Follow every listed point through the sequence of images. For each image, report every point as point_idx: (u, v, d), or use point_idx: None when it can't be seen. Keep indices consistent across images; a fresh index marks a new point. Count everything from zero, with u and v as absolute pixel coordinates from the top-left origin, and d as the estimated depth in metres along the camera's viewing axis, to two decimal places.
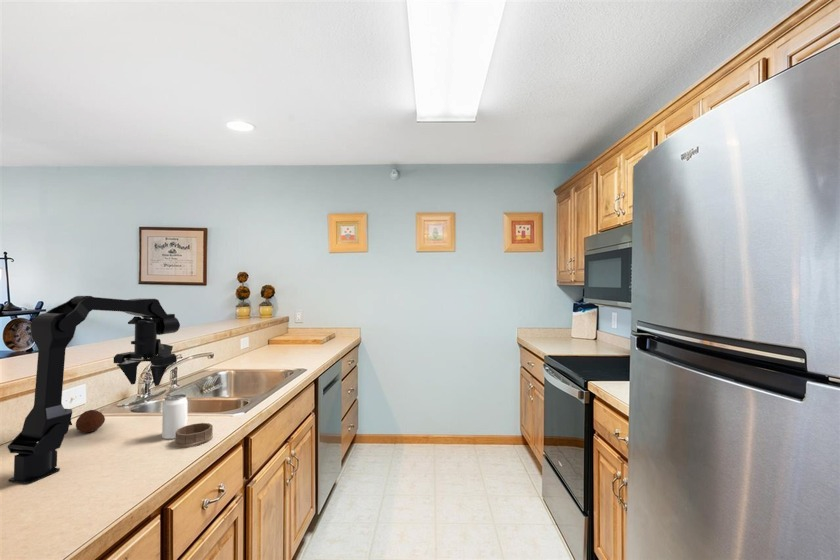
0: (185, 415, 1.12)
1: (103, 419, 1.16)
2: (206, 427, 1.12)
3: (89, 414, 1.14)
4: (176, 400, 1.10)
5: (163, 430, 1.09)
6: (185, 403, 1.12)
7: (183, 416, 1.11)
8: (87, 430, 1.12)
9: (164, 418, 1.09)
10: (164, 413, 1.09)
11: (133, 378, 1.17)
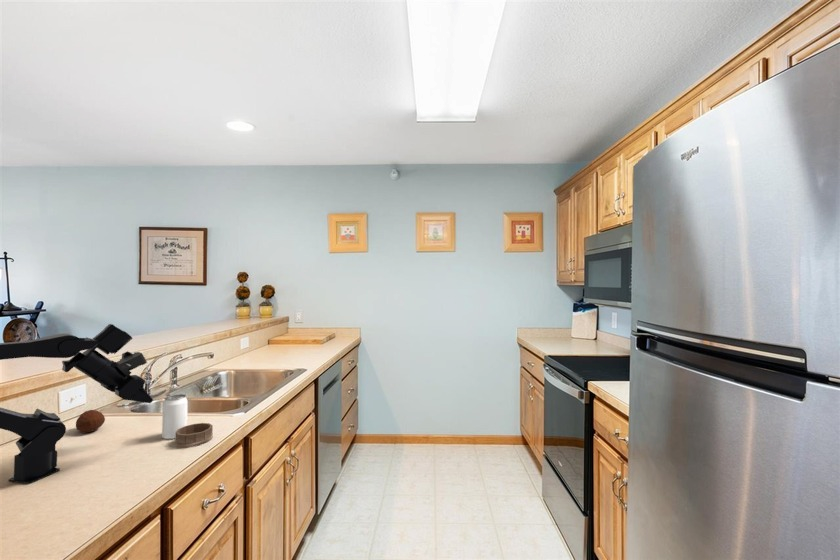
0: (185, 415, 1.12)
1: (103, 419, 1.16)
2: (206, 427, 1.12)
3: (89, 414, 1.14)
4: (176, 400, 1.10)
5: (163, 430, 1.09)
6: (185, 403, 1.12)
7: (183, 416, 1.11)
8: (87, 430, 1.12)
9: (164, 418, 1.09)
10: (164, 413, 1.09)
11: None
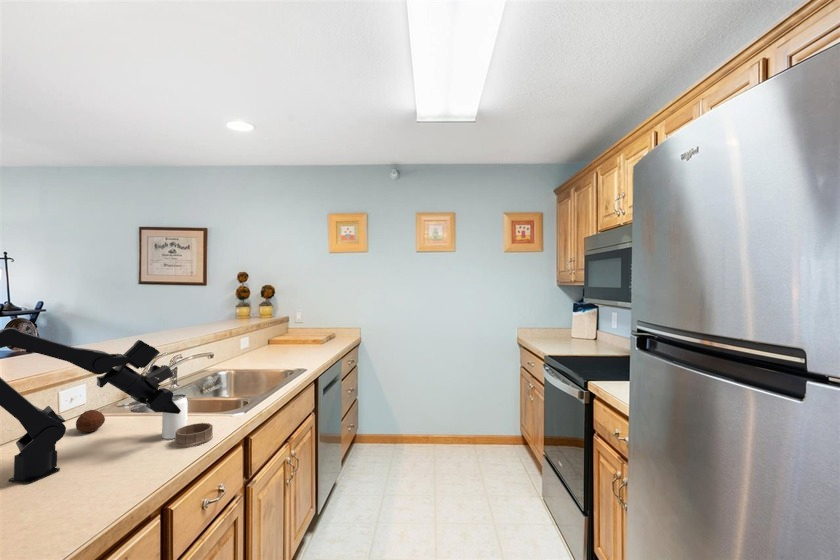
0: (185, 415, 1.12)
1: (103, 419, 1.16)
2: (206, 427, 1.12)
3: (89, 414, 1.14)
4: (176, 400, 1.10)
5: (163, 430, 1.09)
6: (185, 403, 1.12)
7: (183, 416, 1.11)
8: (87, 430, 1.12)
9: (164, 418, 1.09)
10: (164, 413, 1.09)
11: None
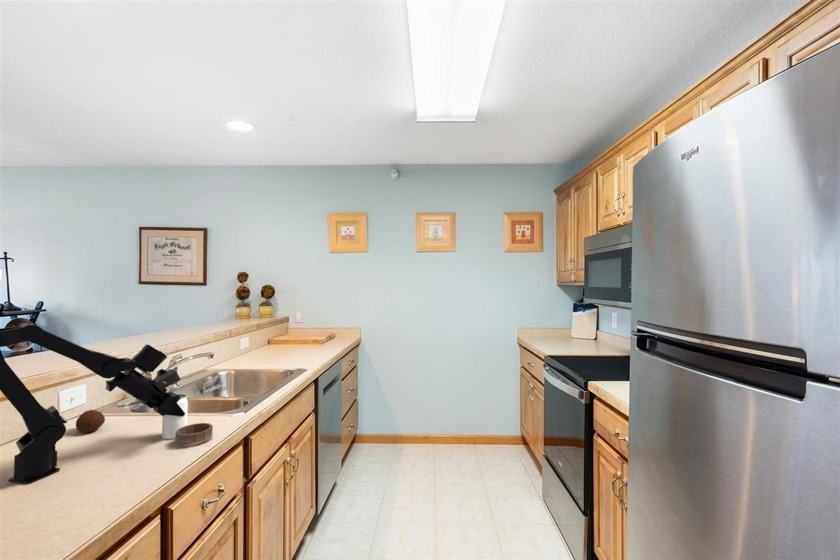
0: (185, 415, 1.12)
1: (103, 419, 1.16)
2: (206, 427, 1.12)
3: (89, 414, 1.14)
4: None
5: (163, 430, 1.09)
6: (185, 403, 1.12)
7: (183, 416, 1.11)
8: (87, 430, 1.12)
9: (164, 418, 1.09)
10: None
11: None
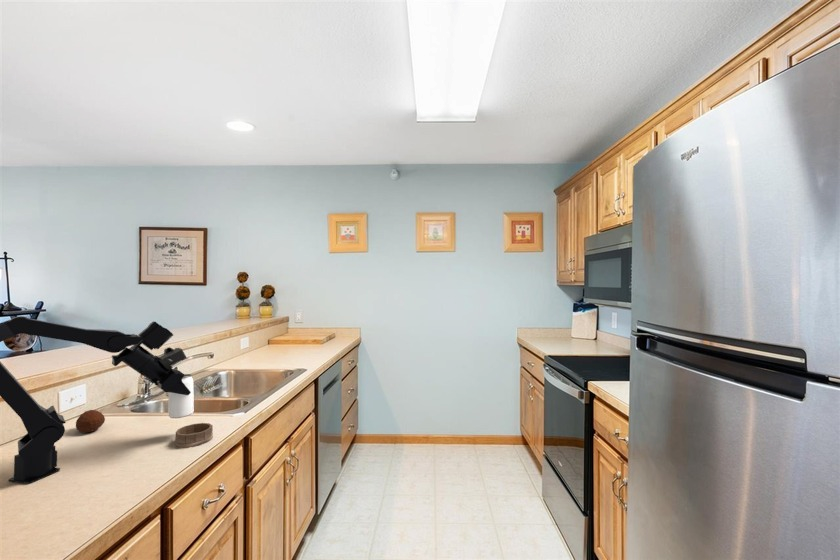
0: (191, 395, 1.11)
1: (103, 419, 1.16)
2: (206, 427, 1.12)
3: (89, 414, 1.14)
4: None
5: (169, 409, 1.08)
6: (191, 382, 1.11)
7: (189, 395, 1.10)
8: (87, 430, 1.12)
9: (170, 397, 1.08)
10: (170, 392, 1.08)
11: None
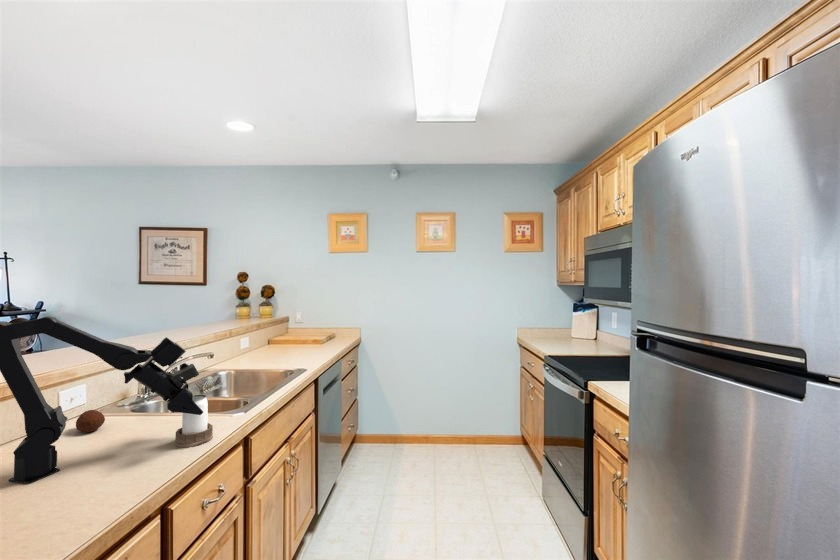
0: (203, 417, 1.07)
1: (103, 419, 1.16)
2: None
3: (89, 414, 1.14)
4: (194, 401, 1.06)
5: (182, 431, 1.06)
6: (204, 405, 1.07)
7: (201, 418, 1.06)
8: (87, 430, 1.12)
9: (183, 419, 1.05)
10: (183, 414, 1.05)
11: None
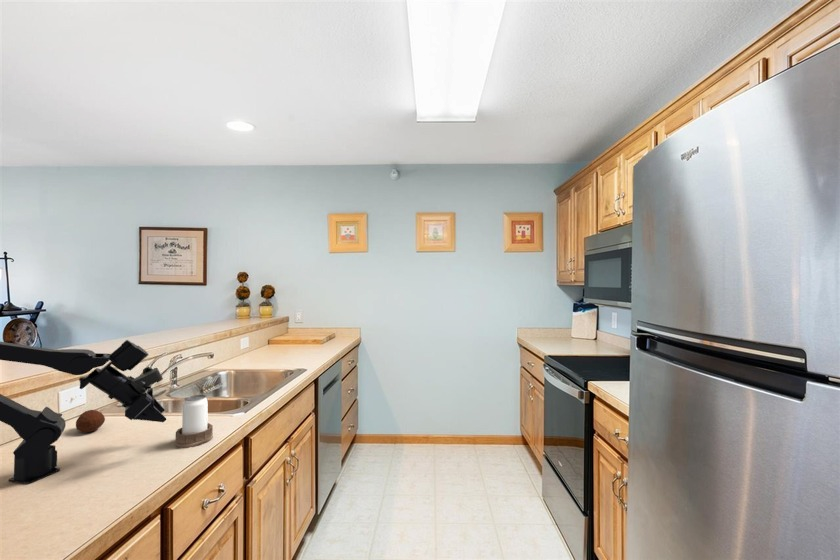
0: (203, 417, 1.07)
1: (103, 419, 1.16)
2: None
3: (89, 414, 1.14)
4: (194, 401, 1.06)
5: (182, 431, 1.06)
6: (204, 404, 1.07)
7: (201, 418, 1.07)
8: (87, 430, 1.12)
9: (183, 419, 1.05)
10: (183, 414, 1.05)
11: (158, 408, 1.06)
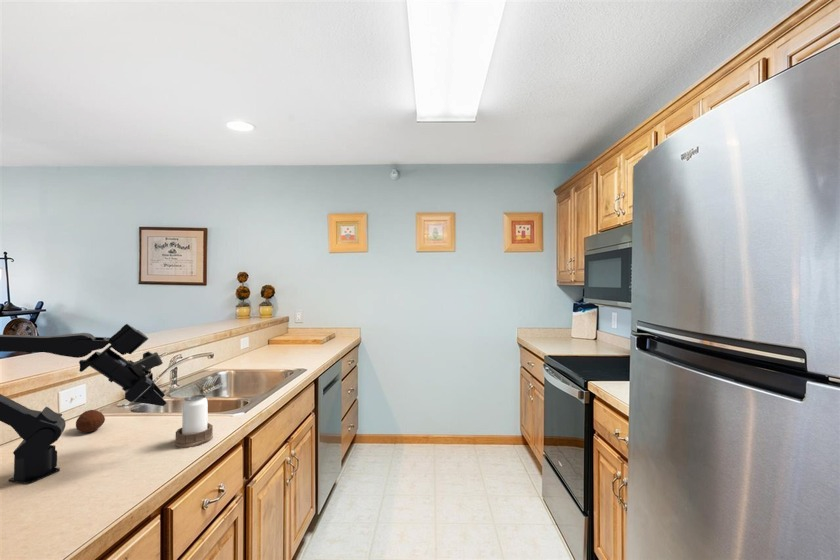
0: (203, 417, 1.07)
1: (103, 419, 1.16)
2: None
3: (89, 414, 1.14)
4: (194, 401, 1.06)
5: (182, 431, 1.06)
6: (204, 404, 1.07)
7: (201, 418, 1.07)
8: (87, 430, 1.12)
9: (183, 419, 1.05)
10: (183, 414, 1.05)
11: (158, 392, 1.06)
